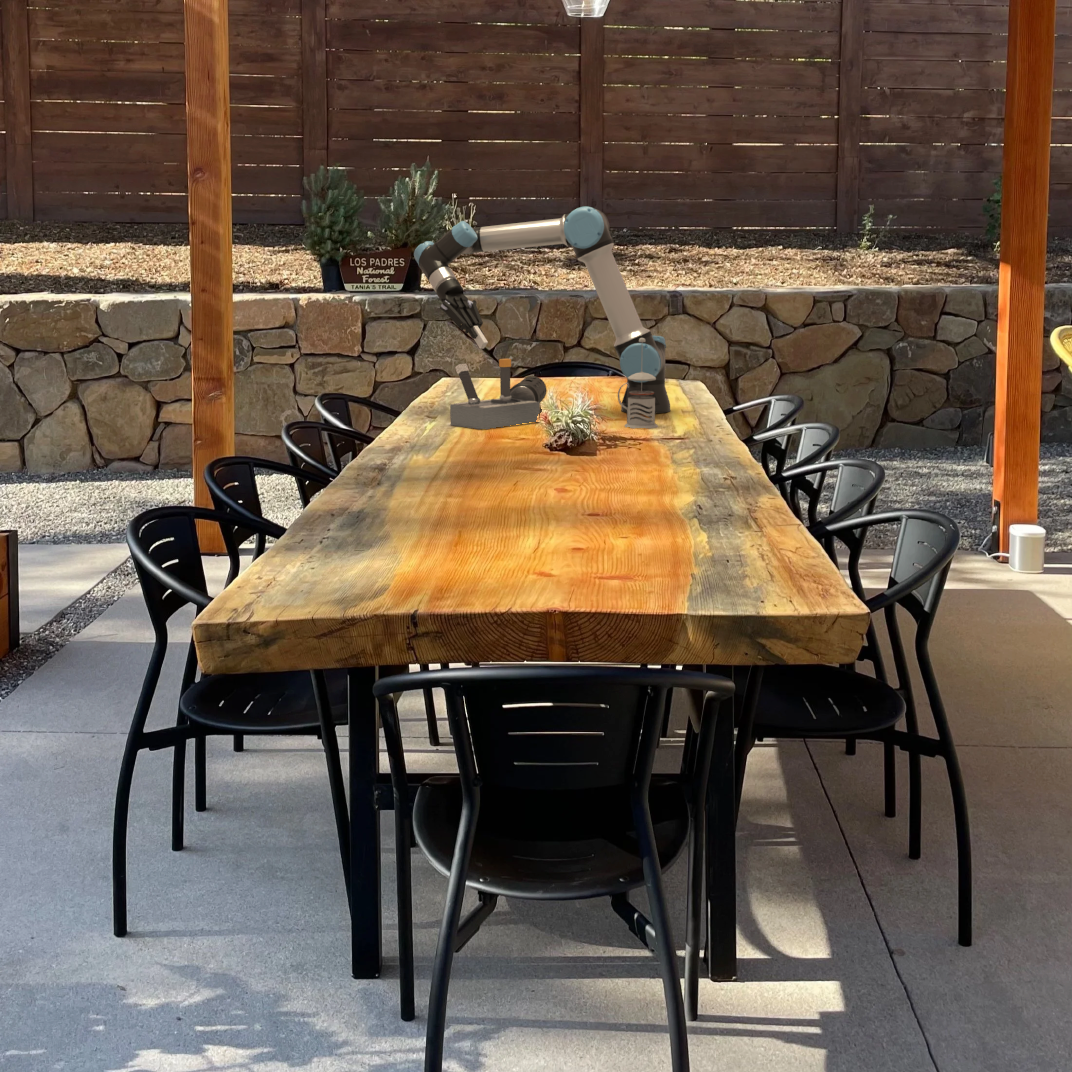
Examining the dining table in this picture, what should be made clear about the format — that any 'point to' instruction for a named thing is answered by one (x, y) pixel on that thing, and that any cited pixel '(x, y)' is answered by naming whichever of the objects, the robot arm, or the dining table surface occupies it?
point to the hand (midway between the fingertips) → (483, 345)
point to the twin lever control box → (489, 408)
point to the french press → (634, 418)
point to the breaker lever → (505, 379)
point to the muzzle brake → (529, 389)
